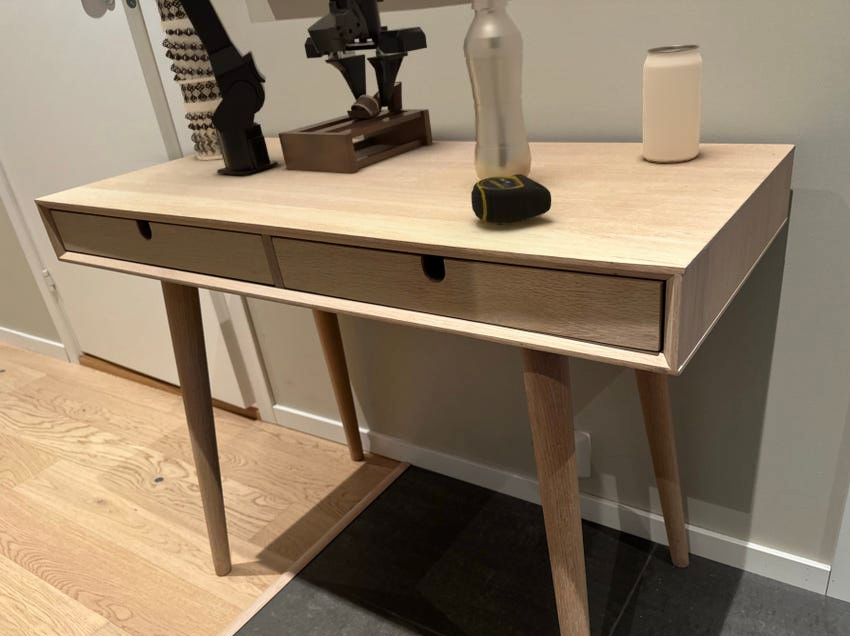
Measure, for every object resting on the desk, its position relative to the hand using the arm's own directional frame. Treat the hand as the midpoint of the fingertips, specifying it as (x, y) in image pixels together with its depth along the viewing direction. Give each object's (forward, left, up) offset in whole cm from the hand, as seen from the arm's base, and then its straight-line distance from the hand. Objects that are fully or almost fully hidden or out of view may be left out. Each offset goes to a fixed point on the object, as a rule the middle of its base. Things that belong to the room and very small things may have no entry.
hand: (373, 106), depth 104 cm
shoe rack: (0, -4, -6) cm, 8 cm away
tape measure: (+39, -25, -6) cm, 47 cm away
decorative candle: (-29, -7, -6) cm, 30 cm away
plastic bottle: (+31, -14, -6) cm, 35 cm away
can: (+45, +1, -6) cm, 46 cm away
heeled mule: (0, 0, -1) cm, 1 cm away
